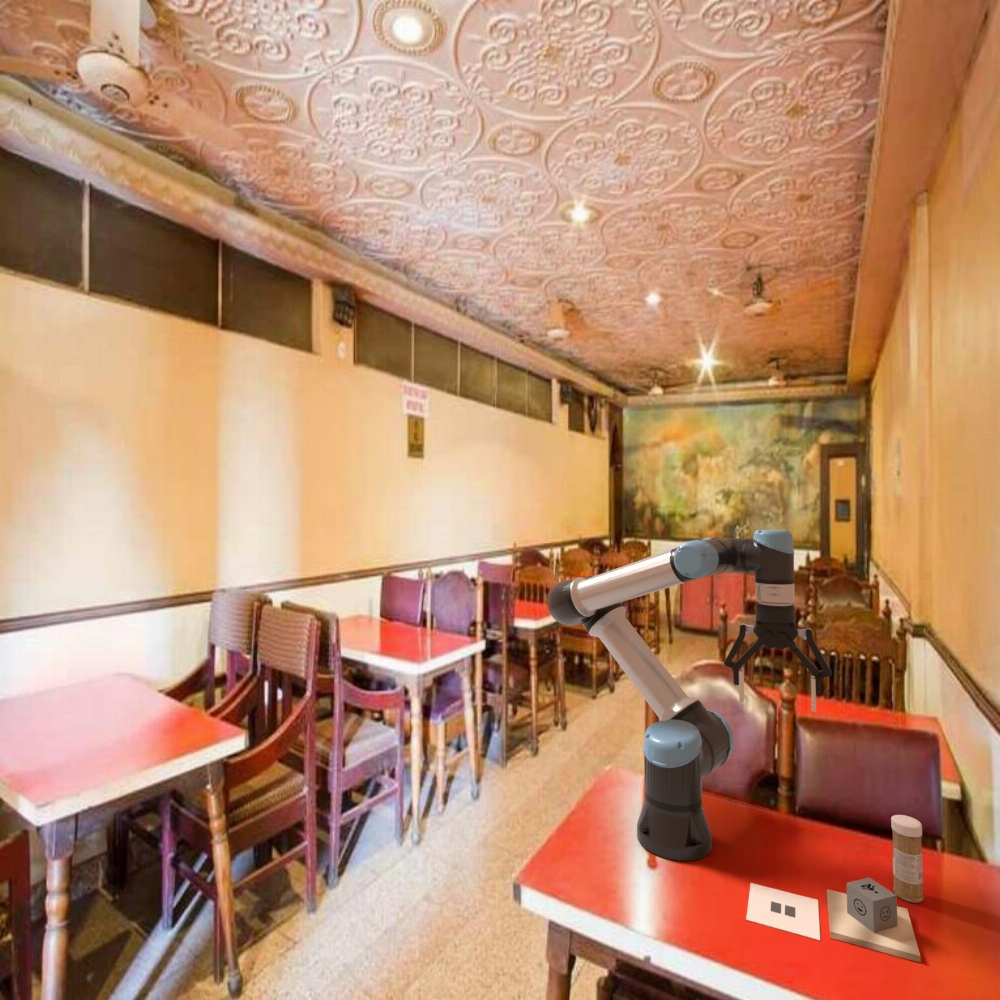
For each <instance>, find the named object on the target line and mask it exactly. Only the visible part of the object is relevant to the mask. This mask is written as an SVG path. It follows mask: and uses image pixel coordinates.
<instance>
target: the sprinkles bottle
mask: <svg viewBox="0 0 1000 1000" xmlns="http://www.w3.org/2000/svg"><path fill="white" fill-rule="evenodd" d="M890 821H891V822H890V824H891V831H892V873H893V887H892V888H893V892H894V894H895V895H897V898H899V899H902V900H903V901H905V902H908V903H915V904H918V903H922V902H923V901H924V900H925V899H924V895H923V891H924V889H923V888H924V887H923V882H924V881H923V880H924V878H923V876H924V874H923V851H922V837H923V825H922V823H921V822H920V821H919V820H918V819H916V818H914V817H913V816H908V815H904V814H895V815H892V816H891V818H890Z"/></svg>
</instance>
